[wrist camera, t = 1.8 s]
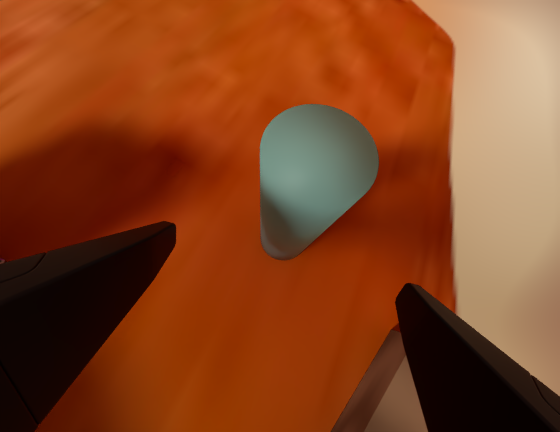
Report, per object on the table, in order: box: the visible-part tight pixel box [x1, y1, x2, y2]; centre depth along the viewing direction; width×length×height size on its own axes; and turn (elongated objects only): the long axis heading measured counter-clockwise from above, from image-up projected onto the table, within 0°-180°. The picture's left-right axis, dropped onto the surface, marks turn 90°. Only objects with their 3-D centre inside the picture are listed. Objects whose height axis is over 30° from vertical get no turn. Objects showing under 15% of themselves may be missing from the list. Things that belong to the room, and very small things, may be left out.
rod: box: [260, 104, 379, 260], centre depth 14 cm, size 4×4×13 cm
